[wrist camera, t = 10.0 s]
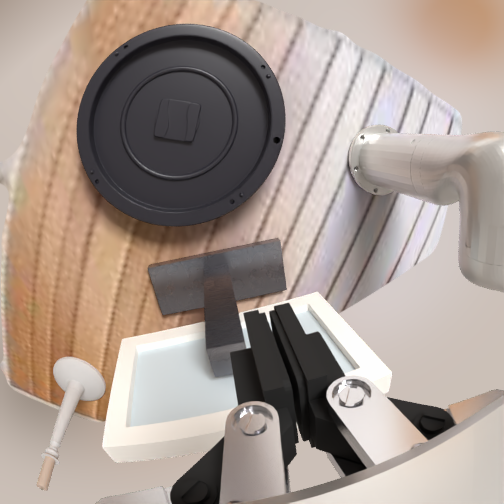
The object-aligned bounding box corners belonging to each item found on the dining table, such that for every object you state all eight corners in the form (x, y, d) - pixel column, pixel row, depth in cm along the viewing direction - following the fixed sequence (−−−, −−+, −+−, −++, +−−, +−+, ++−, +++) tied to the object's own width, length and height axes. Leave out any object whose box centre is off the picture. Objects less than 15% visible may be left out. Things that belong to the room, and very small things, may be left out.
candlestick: (90, 353, 54) (45, 474, 26) (114, 397, 58) (91, 511, 30) (44, 359, 53) (-7, 462, 25) (70, 400, 57) (38, 501, 29)
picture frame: (317, 291, 46) (392, 372, 27) (318, 308, 47) (388, 391, 28) (122, 339, 41) (102, 447, 23) (129, 354, 42) (115, 462, 24)
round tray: (80, 207, 45) (257, 229, 51) (66, 215, 39) (264, 240, 45) (110, 32, 36) (291, 54, 42) (100, 19, 30) (302, 43, 36)
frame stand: (278, 238, 51) (329, 304, 30) (284, 285, 55) (331, 369, 33) (149, 264, 50) (117, 347, 28) (163, 310, 53) (147, 405, 31)
